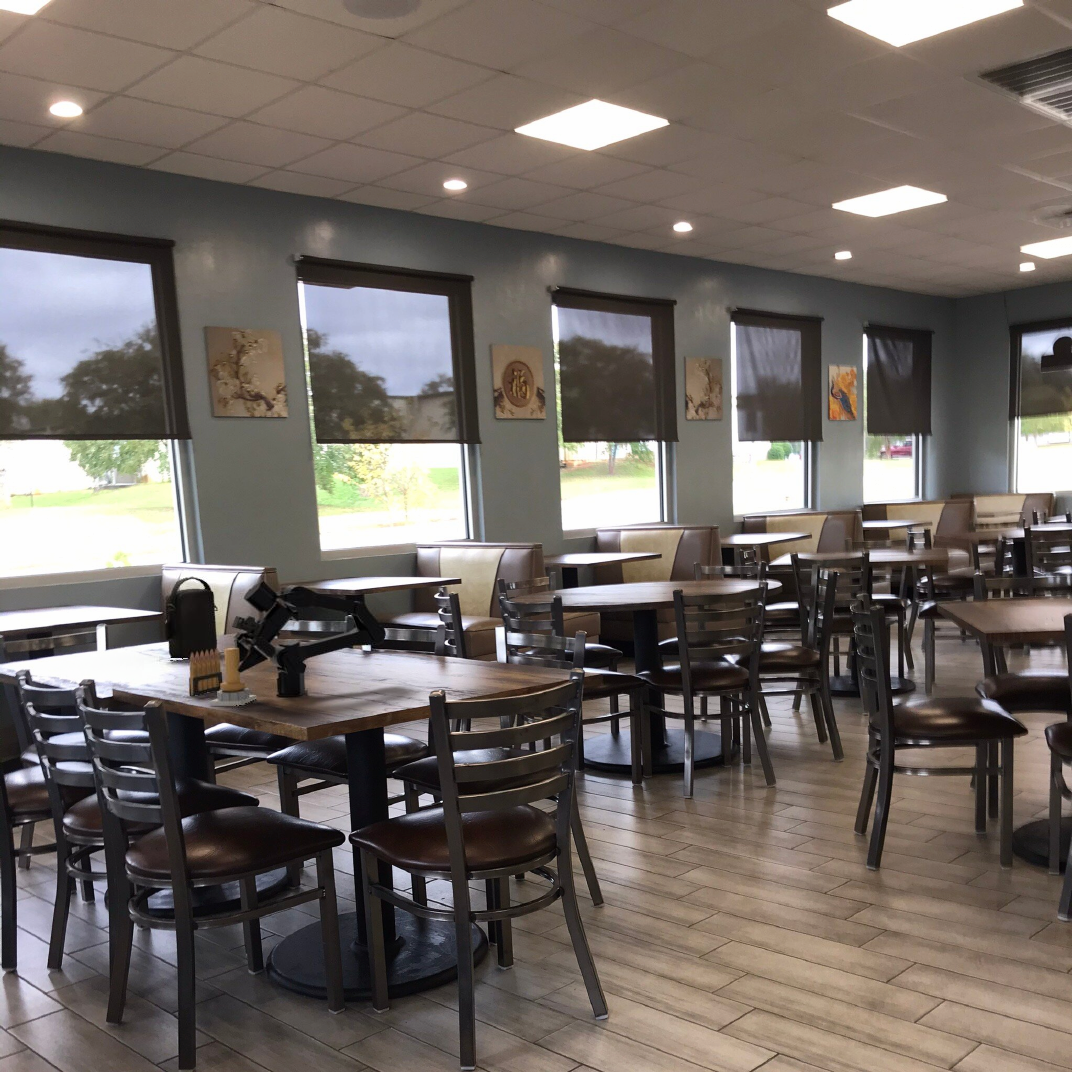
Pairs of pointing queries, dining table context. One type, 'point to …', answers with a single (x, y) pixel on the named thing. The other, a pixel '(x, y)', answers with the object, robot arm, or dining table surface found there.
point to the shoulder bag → (190, 620)
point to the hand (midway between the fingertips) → (233, 669)
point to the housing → (232, 698)
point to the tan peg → (232, 672)
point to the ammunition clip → (204, 673)
